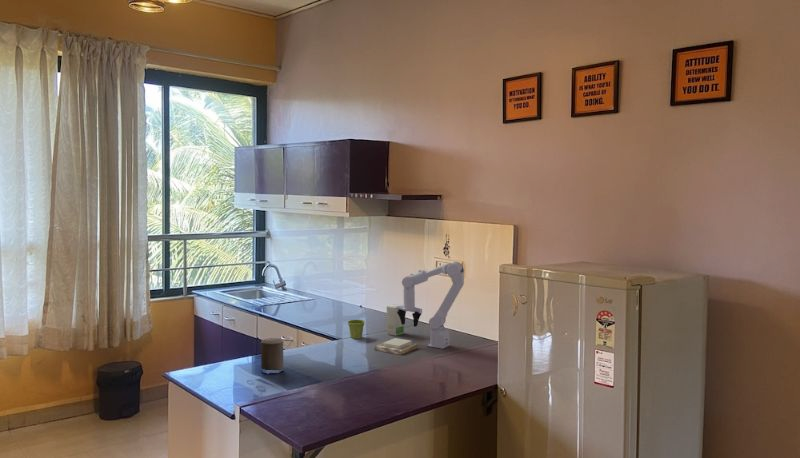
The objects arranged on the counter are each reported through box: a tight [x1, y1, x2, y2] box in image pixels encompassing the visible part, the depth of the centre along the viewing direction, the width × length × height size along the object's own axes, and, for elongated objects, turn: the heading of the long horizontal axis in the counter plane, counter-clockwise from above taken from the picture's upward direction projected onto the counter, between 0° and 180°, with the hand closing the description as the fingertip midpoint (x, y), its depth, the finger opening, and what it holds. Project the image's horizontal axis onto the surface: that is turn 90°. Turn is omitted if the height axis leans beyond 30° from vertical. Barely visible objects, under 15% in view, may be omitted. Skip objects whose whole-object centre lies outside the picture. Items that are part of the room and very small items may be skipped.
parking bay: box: [374, 342, 419, 355], centre depth 294 cm, size 16×14×2 cm
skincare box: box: [386, 304, 405, 337], centre depth 324 cm, size 8×7×16 cm
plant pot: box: [347, 319, 366, 340], centre depth 317 cm, size 9×9×9 cm
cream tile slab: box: [382, 337, 413, 349], centre depth 294 cm, size 10×11×4 cm
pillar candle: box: [260, 337, 284, 370], centre depth 261 cm, size 10×10×15 cm
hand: (409, 325), depth 304 cm, fingers open, 7 cm apart
